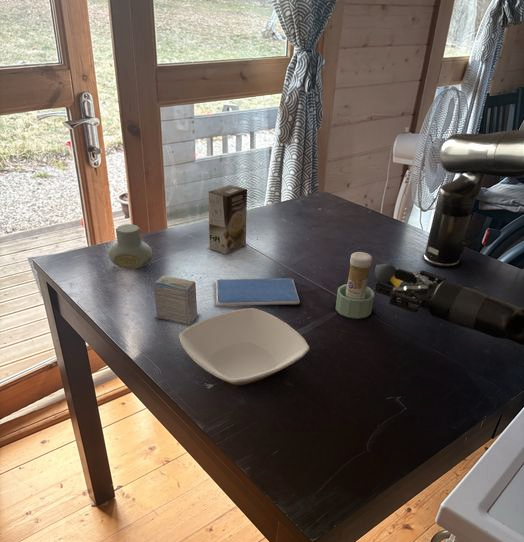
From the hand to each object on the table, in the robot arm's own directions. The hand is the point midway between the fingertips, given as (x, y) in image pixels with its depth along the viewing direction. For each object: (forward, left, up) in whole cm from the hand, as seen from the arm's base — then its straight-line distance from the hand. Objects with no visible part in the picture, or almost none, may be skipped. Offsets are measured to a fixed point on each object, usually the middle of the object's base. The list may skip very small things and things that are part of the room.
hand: (386, 279), depth 110 cm
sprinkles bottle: (0, -7, -10) cm, 12 cm away
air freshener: (+20, -62, -10) cm, 66 cm away
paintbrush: (-16, -3, -10) cm, 19 cm away
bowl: (+33, -12, -10) cm, 36 cm away
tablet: (+10, -28, -10) cm, 31 cm away
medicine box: (+30, -34, -10) cm, 46 cm away
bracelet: (0, -7, -10) cm, 12 cm away
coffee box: (-6, -52, -10) cm, 53 cm away
